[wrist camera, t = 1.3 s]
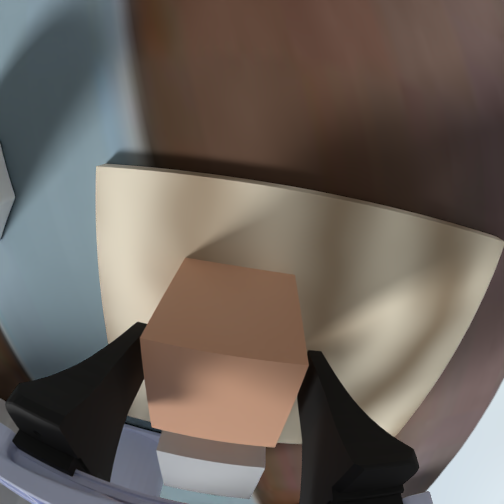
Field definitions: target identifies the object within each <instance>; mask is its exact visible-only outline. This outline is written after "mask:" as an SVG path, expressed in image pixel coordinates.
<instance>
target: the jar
mask: <svg viewBox="0 0 504 504" xmlns="http://www.w3.org/2000/svg"><path fill="white" fill-rule="evenodd" d="M14 199H15V194H14V191H13V188H12V185H11V181H10V178H9V174H8V171H7V167H6V164H5V160H4V156H3V152H2V148H1V144H0V239H1V236H2V233H3V230H4V227H5V224H6V221H7V218H8V215H9V212H10V210H11V207H12V204H13V202H14Z"/></svg>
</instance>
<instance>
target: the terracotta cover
mask: <svg viewBox="0 0 504 504" xmlns="http://www.w3.org/2000/svg"><path fill="white" fill-rule="evenodd" d="M140 345H141V355H142V364H143V372H144V380H145V388H146V395H147V401H148V408H149V414H150V420H151V426H152V428H156V429H160V430H164V431H169V432H173V433H178V434H182V435H187V436H192V437H198V438H203V439H209V440H215V441H221V442H228V443H236V444H244V445H253V446H263V447H275V446H276V443H277V441H278V439H279V437H280V435H281V432H282V430H283V428H284V425H285V423H286V421H287V418H288V416H289V414H290V411H291V409H292V407H293V404H294V402H295V399H296V397H297V394H298V392H299V389H300V387H301V384H302V382H303V379H304V376H305V374H306V371H307V369H308V366H309V363H308V356H307V349H306V342H305V336H304V329H303V322H302V316H301V309H300V303H299V297H298V291H297V285H296V279H295V275H293V274H286V273H280V272H273V271H267V270H260V269H254V268H247V267H241V266H235V265H228V264H222V263H216V262H210V261H203V260H197V259H191V258H185V259H184V261H183V262H182V264H181V266H180V267H179V269H178V271H177V273H176V274H175V276H174V278H173V279H172V281H171V283H170V285H169V286H168V288H167V290H166V292H165V293H164V295H163V297H162V299H161V300H160V302H159V304H158V306H157V308H156V309H155V311H154V313H153V315H152V317H151V318H150V320H149V322H148V324H147V326H146V327H145V329H144V331H143V333H142V335H141V337H140Z"/></svg>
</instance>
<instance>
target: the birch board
mask: <svg viewBox="0 0 504 504" xmlns="http://www.w3.org/2000/svg"><path fill="white" fill-rule="evenodd" d="M96 234H97V253H98V266H99V278H100V287H101V296H102V305H103V312H104V319H105V326H106V332H107V338H108V344H110V343H111V342H112V341H114V340H115V339H116V338H118V337H119V336H120V335H121V334H123V333H124V332H125V331H126V330H128V329H129V328H130V327H131V326H132V325H134V324H135V323H136V322H141V323H146V324H148V322H149V320H150V318H151V317H152V315H153V313H154V311H155V309H156V308H157V306H158V304H159V302H160V300H161V299H162V297H163V295H164V293H165V292H166V290H167V288H168V286H169V285H170V283H171V281H172V279H173V278H174V276H175V274H176V273H177V271H178V269H179V267H180V266H181V264H182V262H183V261H184V259H185V258H191V259H197V260H203V261H210V262H216V263H222V264H228V265H235V266H241V267H247V268H254V269H260V270H267V271H273V272H280V273H286V274H293V275H295V279H296V285H297V291H298V297H299V303H300V309H301V316H302V322H303V329H304V336H305V342H306V349H307V352H308V350H314V351H321V352H322V353H323V355H324V356H325V358H326V360H327V361H328V363H329V365H330V366H331V368H332V370H333V371H334V373H335V374H336V376H337V377H338V379H339V380H340V382H341V383H342V385H343V386H344V388H345V389H346V390H347V392H348V393H349V394H350V396H351V397H352V398H353V400H354V401H355V402H356V403H357V404H358V405H359V407H360V408H361V409H362V410H363V411H364V412H365V413H366V414H367V415H368V416H369V417H370V418H371V419H372V420H373V421H375V422H376V423H377V424H378V425H379V426H380V427H381V428H383V429H384V430H385V431H386V432H388V433H389V434H391V435H392V436H393V437H395V436H396V435H397V434H398V432H399V431H400V430H401V429H402V428H403V426H404V425H405V424H406V423H407V421H408V420H409V419H410V417H411V416H412V415H413V414H414V412H415V411H416V410H417V408H418V407H419V406H420V404H421V403H422V401H423V400H424V399H425V397H426V396H427V394H428V393H429V392H430V390H431V389H432V387H433V386H434V384H435V383H436V381H437V380H438V378H439V377H440V375H441V374H442V372H443V371H444V369H445V367H446V366H447V364H448V363H449V361H450V359H451V358H452V356H453V354H454V353H455V351H456V349H457V347H458V346H459V344H460V342H461V340H462V339H463V337H464V335H465V333H466V331H467V329H468V328H469V326H470V324H471V322H472V320H473V318H474V316H475V314H476V312H477V310H478V308H479V306H480V303H481V301H482V299H483V297H484V295H485V293H486V290H487V288H488V286H489V283H490V281H491V279H492V276H493V274H494V271H495V269H496V266H497V264H498V261H499V258H500V256H501V253H502V250H503V247H504V241H503V240H501V239H500V238H498V237H497V236H494V235H490V234H487V233H484V232H481V231H478V230H474V229H471V228H468V227H464V226H461V225H457V224H454V223H450V222H447V221H443V220H440V219H436V218H432V217H429V216H425V215H421V214H417V213H413V212H409V211H405V210H401V209H397V208H393V207H389V206H385V205H381V204H376V203H372V202H367V201H363V200H358V199H354V198H349V197H344V196H339V195H335V194H330V193H325V192H319V191H314V190H309V189H304V188H298V187H293V186H287V185H281V184H275V183H269V182H263V181H257V180H250V179H244V178H237V177H230V176H223V175H215V174H207V173H199V172H191V171H183V170H173V169H164V168H154V167H143V166H131V165H118V164H103V165H99V166H96ZM127 416H131V417H134V418H138V419H141V420H145V421H149V422H151V420H150V414H149V408H148V401H147V395H146V388H145V380H143V382H142V384H141V387H140V389H139V391H138V393H137V395H136V397H135V399H134V401H133V403H132V406H131V408H130V410H129V412H128V415H127ZM277 443H291V444H302V436H301V427H300V419H299V411H298V402H297V397H296V399H295V402H294V404H293V407H292V409H291V411H290V414H289V416H288V418H287V421H286V423H285V425H284V428H283V430H282V432H281V435H280V437H279V439H278V441H277Z"/></svg>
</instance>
